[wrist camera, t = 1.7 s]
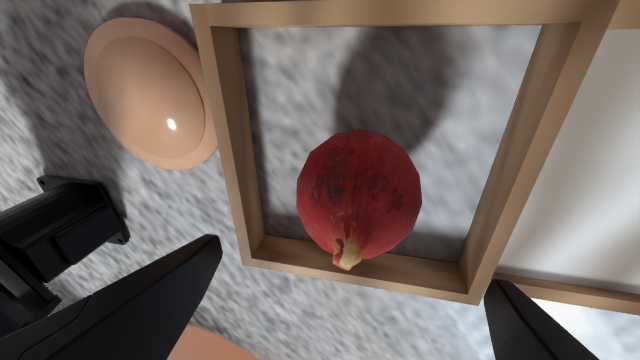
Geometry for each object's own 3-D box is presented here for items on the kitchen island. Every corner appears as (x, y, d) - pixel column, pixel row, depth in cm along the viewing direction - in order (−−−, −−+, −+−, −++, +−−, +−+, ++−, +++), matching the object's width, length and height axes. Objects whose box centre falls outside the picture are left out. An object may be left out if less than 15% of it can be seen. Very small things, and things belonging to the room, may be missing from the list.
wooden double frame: (257, 241, 21) (242, 264, 19) (220, 9, 13) (189, 4, 11) (775, 321, 15) (841, 369, 13) (1248, -16, 7) (1610, -38, 5)
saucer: (127, 159, 19) (116, 164, 19) (71, 19, 15) (54, 18, 14) (236, 170, 18) (229, 177, 17) (209, 17, 13) (198, 15, 13)
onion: (303, 125, 15) (238, 197, 8) (405, 101, 13) (428, 167, 7) (329, 207, 18) (295, 314, 11) (418, 195, 16) (446, 316, 9)
